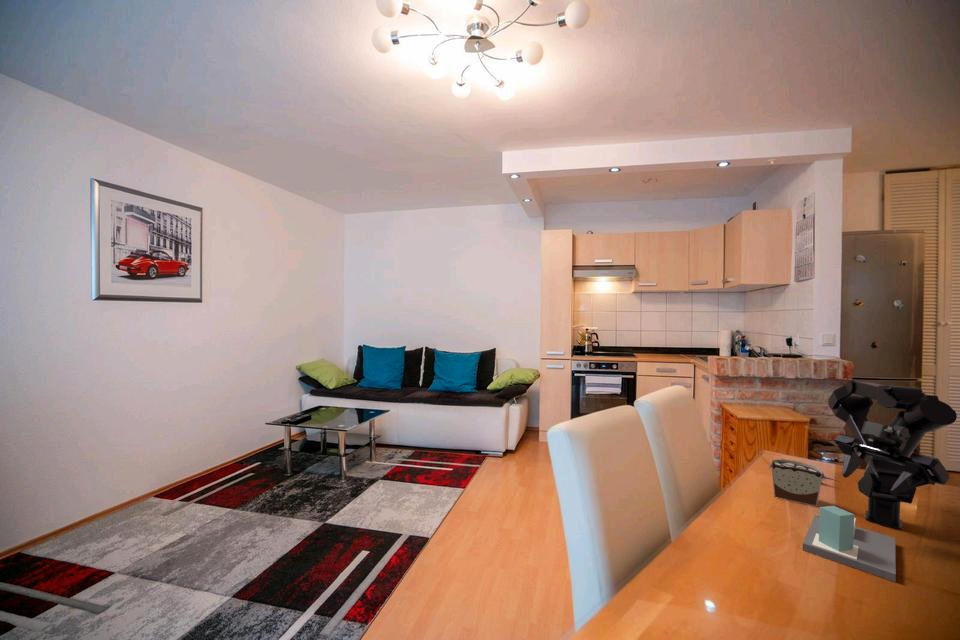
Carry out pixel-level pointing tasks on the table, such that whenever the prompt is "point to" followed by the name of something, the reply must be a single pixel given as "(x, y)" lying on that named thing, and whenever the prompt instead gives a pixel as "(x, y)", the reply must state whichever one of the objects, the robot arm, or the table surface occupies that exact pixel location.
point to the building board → (858, 551)
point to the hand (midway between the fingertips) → (866, 484)
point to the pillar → (836, 528)
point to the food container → (796, 481)
